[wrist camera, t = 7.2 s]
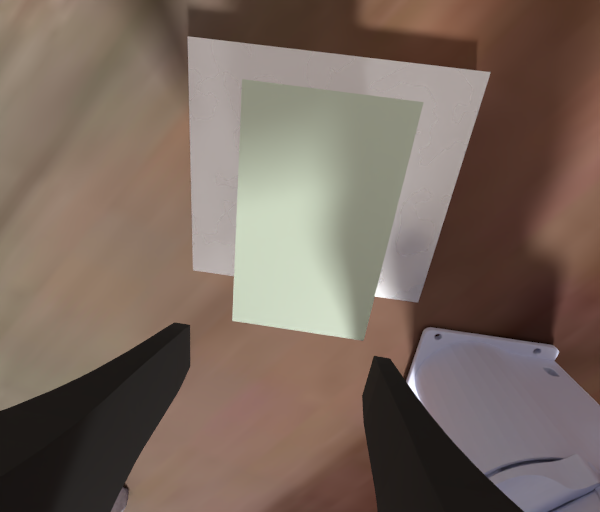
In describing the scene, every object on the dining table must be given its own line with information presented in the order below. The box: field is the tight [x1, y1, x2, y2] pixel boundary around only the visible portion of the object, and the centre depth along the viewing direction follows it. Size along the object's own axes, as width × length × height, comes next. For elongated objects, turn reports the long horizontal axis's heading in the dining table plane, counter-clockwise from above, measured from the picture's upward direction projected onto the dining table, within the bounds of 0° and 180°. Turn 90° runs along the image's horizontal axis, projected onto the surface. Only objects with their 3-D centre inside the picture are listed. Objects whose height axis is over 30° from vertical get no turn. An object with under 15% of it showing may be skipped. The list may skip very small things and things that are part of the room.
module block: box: [232, 79, 424, 341], centre depth 12 cm, size 5×8×5 cm, turn 173°
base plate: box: [188, 36, 491, 302], centre depth 16 cm, size 15×13×4 cm
